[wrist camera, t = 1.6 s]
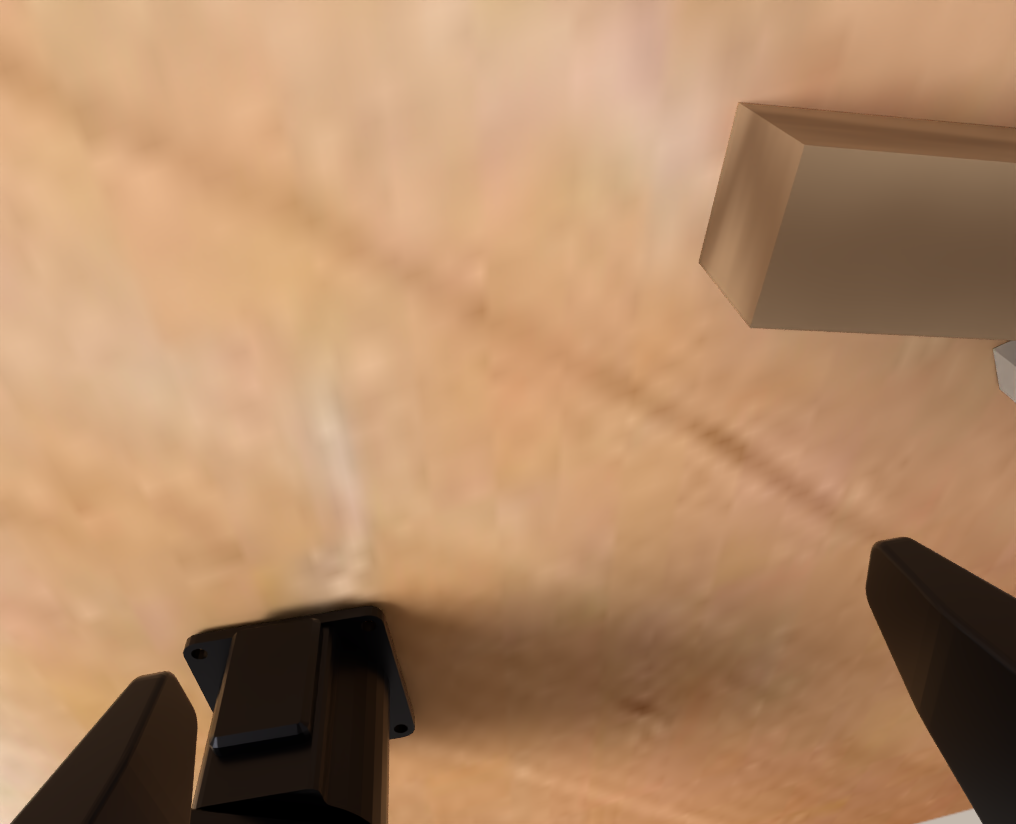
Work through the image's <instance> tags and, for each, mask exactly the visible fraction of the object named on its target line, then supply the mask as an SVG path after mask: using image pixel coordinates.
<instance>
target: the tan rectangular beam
mask: <svg viewBox="0 0 1016 824" xmlns="http://www.w3.org/2000/svg"><path fill="white" fill-rule="evenodd" d="M699 264H700V265H701V266H702V267H703V269H704V270H705V271H706V272H707V274H708V275H709V276H710V278H711V279H712V280H713V281H714V283H715V284H716V285H717V286H718V288H719V289H720V290H721V292H722V293H723V294H724V295H725V297H726V298H727V299H728V300H729V302H730V303H731V304H732V306H733V307H734V308H735V309H736V311H737V312H738V313H739V314H740V316H741V317H742V318H743V320H744V321H745V322H746V323H747V325H748V326H749V327H750V328H764V329H785V330H805V331H826V332H846V333H866V334H887V335H907V336H928V337H948V338H969V339H989V340H1009V341H1016V128H1010V127H999V126H988V125H977V124H967V123H956V122H945V121H934V120H923V119H913V118H902V117H891V116H880V115H869V114H859V113H848V112H837V111H826V110H815V109H804V108H794V107H783V106H772V105H761V104H750V103H740V102H738V106H737V110H736V114H735V118H734V122H733V126H732V130H731V134H730V138H729V142H728V146H727V150H726V154H725V158H724V162H723V166H722V170H721V174H720V178H719V182H718V186H717V191H716V195H715V199H714V203H713V207H712V211H711V215H710V219H709V223H708V227H707V231H706V235H705V239H704V243H703V247H702V251H701V255H700V259H699Z"/></svg>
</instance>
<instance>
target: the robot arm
mask: <svg viewBox="0 0 1016 824" xmlns="http://www.w3.org/2000/svg"><path fill="white" fill-rule="evenodd" d="M866 596H867V600H868V603H869V606H870V608H871V610H872V612H873V615H874V617H875V619H876V621H877V624H878V626H879V628H880V630H881V632H882V635H883V637H884V639H885V641H886V644H887V646H888V648H889V650H890V652H891V655H892V657H893V659H894V661H895V664H896V666H897V668H898V670H899V672H900V675H901V677H902V679H903V681H904V684H905V686H906V688H907V690H908V692H909V695H910V697H911V699H912V701H913V703H914V705H915V707H916V709H917V711H918V713H919V715H920V717H921V719H922V721H923V722H924V724H925V726H926V728H927V730H928V731H929V733H930V735H931V736H932V738H933V740H934V742H935V743H936V745H937V747H938V748H939V750H940V752H941V754H942V755H943V757H944V759H945V760H946V762H947V764H948V765H949V767H950V769H951V771H952V772H953V774H954V776H955V777H956V779H957V781H958V782H959V784H960V786H961V788H962V789H963V791H964V793H965V794H966V796H967V798H968V800H969V801H970V803H971V805H972V806H973V808H974V810H975V811H976V813H977V815H978V817H979V818H980V820H981V822H982V823H983V824H1016V598H1014V597H1013V596H1011V595H1009V594H1007V593H1006V592H1004V591H1002V590H1000V589H999V588H997V587H995V586H994V585H992V584H990V583H988V582H987V581H985V580H983V579H981V578H980V577H978V576H976V575H974V574H973V573H971V572H969V571H967V570H966V569H964V568H962V567H960V566H959V565H957V564H955V563H953V562H952V561H950V560H948V559H946V558H945V557H943V556H941V555H939V554H938V553H936V552H934V551H932V550H931V549H929V548H927V547H925V546H924V545H922V544H920V543H918V542H917V541H915V540H913V539H911V538H908V537H898V538H893V539H887V540H882V541H878V542H876V543H875V544H874V545H873V547H872V549H871V554H870V561H869V567H868V574H867V580H866ZM365 621H372V622H365ZM200 649H203V650H200ZM183 654H184V658H185V660H186V661H187V663H188V665H189V667H190V669H191V671H192V673H193V675H194V677H195V679H196V681H197V683H198V685H199V686H200V688H201V690H202V692H203V694H204V696H205V698H206V700H207V702H208V704H209V706H210V708H211V710H212V711H213V717H212V721H211V726H210V730H209V734H208V739H207V743H206V747H205V752H204V756H203V760H202V765H201V769H200V773H199V778H198V782H197V786H196V791H195V795H194V799H193V804H192V792H193V779H194V766H195V754H196V741H197V717H196V713H195V710H194V708H193V706H192V704H191V703H190V701H189V699H188V697H187V696H186V694H185V692H184V690H183V689H182V687H181V685H180V683H179V682H178V680H177V678H176V677H175V676H174V674H172V673H171V672H169V671H164V672H158V673H153V674H147V675H142V676H139V677H137V678H136V679H134V680H133V681H132V682H131V683H130V684H129V685H128V687H127V688H126V689H125V690H124V691H123V692H122V694H121V695H120V696H119V697H118V698H117V699H116V701H115V702H114V703H113V704H112V705H111V706H110V708H109V709H108V710H107V711H106V712H105V713H104V715H103V716H102V717H101V718H100V719H99V721H98V722H97V723H96V724H95V725H94V726H93V728H92V729H91V730H90V731H89V732H88V733H87V735H86V736H85V737H84V738H83V739H82V740H81V742H80V743H79V744H78V745H77V746H76V747H75V749H74V750H73V751H72V752H71V753H70V754H69V756H68V757H67V758H66V759H65V760H64V761H63V763H62V764H61V765H60V766H59V767H58V768H57V770H56V771H55V772H54V773H53V774H52V775H51V777H50V778H49V779H48V780H47V781H46V782H45V784H44V785H43V786H42V787H41V788H40V789H39V791H38V792H37V793H36V794H35V795H34V796H33V798H32V799H31V800H30V801H29V802H28V803H27V805H26V806H25V807H24V808H23V809H22V810H21V812H20V813H19V814H18V815H17V816H16V817H15V819H14V820H13V821H12V822H11V823H10V824H388V794H389V739H395V738H401V737H405V736H408V735H410V734H412V733H413V731H414V730H415V719H414V714H413V710H412V707H411V703H410V700H409V697H408V693H407V690H406V687H405V683H404V680H403V676H402V673H401V670H400V666H399V663H398V659H397V656H396V653H395V649H394V646H393V643H392V639H391V636H390V632H389V629H388V626H387V622H386V619H385V616H384V613H383V612H382V610H380V609H379V608H377V607H373V606H364V607H358V608H352V609H346V610H340V611H334V612H328V613H322V614H316V615H310V616H304V617H298V618H292V619H286V620H280V621H274V622H267V623H261V624H255V625H249V626H243V627H237V628H231V629H225V630H219V631H213V632H207V633H201V634H196V635H193V636H191V637H190V638H188V639H187V642H186V645H185V648H184V652H183ZM191 804H192V808H191Z"/></svg>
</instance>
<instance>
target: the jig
mask: <svg viewBox="0 0 1016 824" xmlns="http://www.w3.org/2000/svg"><path fill="white" fill-rule="evenodd" d="M993 352H994V358H995V364H996V370H997V376H998V382H999V388H1000V390H1001V391H1003V392H1004V393H1005V394H1006V395H1007V396H1008V397H1010V398H1011V399H1012V400H1013V401H1014V402H1016V341H1009V342H1007V343H1005V344H1003V345H1000V346H998V347H996V348H994V349H993Z"/></svg>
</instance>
